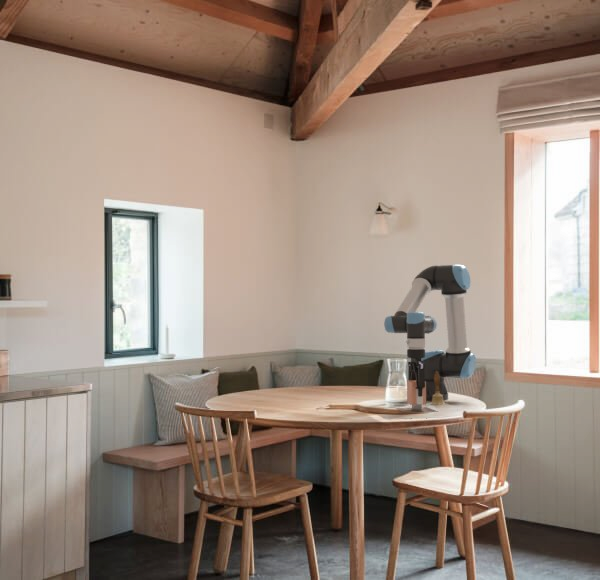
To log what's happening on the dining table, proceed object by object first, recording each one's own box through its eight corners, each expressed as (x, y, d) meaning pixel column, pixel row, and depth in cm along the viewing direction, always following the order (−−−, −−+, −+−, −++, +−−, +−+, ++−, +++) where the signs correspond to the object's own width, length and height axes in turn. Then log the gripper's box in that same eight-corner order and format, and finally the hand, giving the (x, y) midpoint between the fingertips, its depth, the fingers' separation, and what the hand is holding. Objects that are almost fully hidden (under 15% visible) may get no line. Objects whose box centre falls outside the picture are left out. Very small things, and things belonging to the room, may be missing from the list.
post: (419, 409, 335) (418, 390, 336) (421, 410, 332) (421, 391, 332) (411, 409, 335) (411, 390, 335) (414, 410, 332) (414, 391, 332)
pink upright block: (420, 402, 337) (420, 379, 337) (426, 404, 331) (425, 381, 331) (407, 403, 336) (406, 380, 336) (412, 405, 330) (411, 381, 330)
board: (426, 410, 342) (426, 407, 342) (438, 415, 328) (438, 411, 328) (395, 411, 339) (395, 408, 339) (406, 416, 325) (406, 412, 325)
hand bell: (432, 408, 348) (432, 372, 348) (425, 406, 356) (425, 370, 356) (450, 408, 349) (449, 372, 349) (443, 405, 357) (442, 370, 358)
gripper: (400, 347, 342) (400, 400, 342) (415, 350, 324) (416, 406, 323) (416, 347, 344) (417, 400, 344) (432, 349, 325) (433, 405, 325)
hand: (416, 403), depth 334 cm, fingers closed on pink upright block, 6 cm apart
